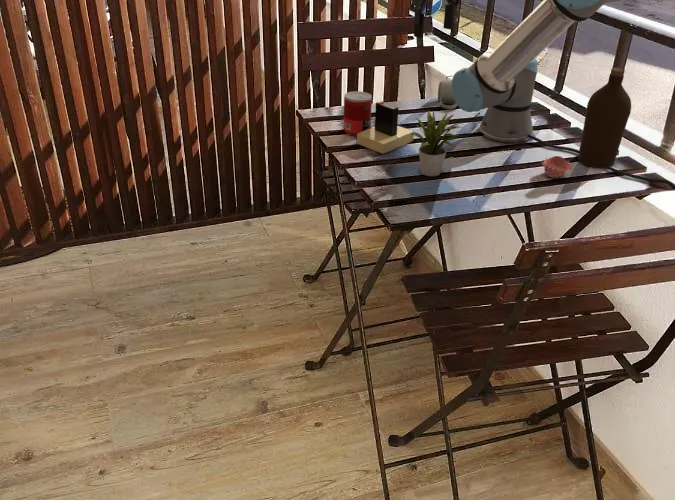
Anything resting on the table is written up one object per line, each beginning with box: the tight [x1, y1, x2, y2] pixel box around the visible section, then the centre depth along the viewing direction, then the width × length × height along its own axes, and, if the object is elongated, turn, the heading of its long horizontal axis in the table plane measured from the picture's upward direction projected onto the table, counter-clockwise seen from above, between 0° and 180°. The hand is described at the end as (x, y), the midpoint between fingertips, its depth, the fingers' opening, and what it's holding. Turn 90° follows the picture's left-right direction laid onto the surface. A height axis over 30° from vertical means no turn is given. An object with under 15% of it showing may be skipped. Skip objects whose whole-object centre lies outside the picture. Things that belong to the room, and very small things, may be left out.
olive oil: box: [577, 67, 632, 169], centre depth 169 cm, size 11×11×25 cm
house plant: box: [410, 109, 464, 177], centre depth 163 cm, size 14×14×16 cm
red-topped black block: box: [374, 100, 399, 137], centre depth 181 cm, size 6×2×8 cm, turn 44°
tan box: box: [356, 125, 415, 155], centre depth 184 cm, size 13×11×3 cm
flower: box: [541, 155, 574, 179], centre depth 166 cm, size 8×8×6 cm
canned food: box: [343, 90, 373, 137], centre depth 189 cm, size 8×8×11 cm
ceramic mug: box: [437, 79, 458, 110], centre depth 210 cm, size 11×8×8 cm
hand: (433, 32), depth 184 cm, fingers open, 13 cm apart
